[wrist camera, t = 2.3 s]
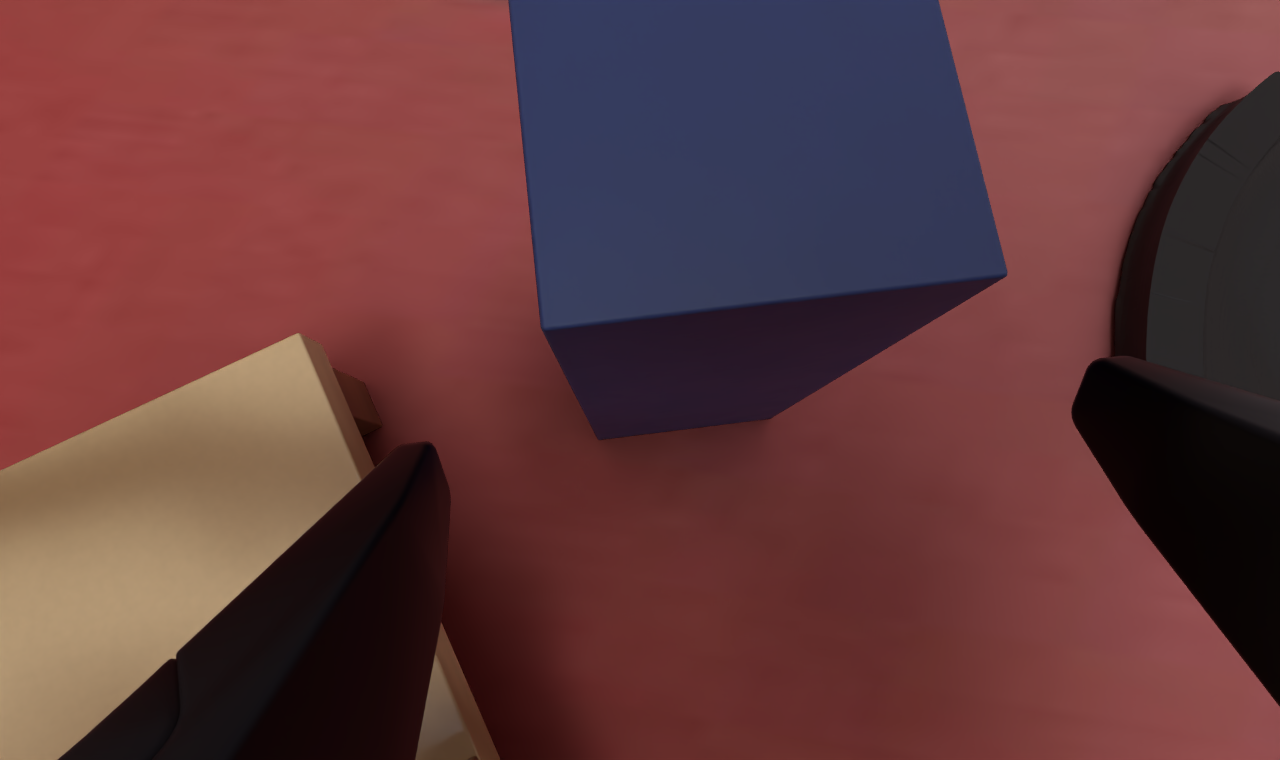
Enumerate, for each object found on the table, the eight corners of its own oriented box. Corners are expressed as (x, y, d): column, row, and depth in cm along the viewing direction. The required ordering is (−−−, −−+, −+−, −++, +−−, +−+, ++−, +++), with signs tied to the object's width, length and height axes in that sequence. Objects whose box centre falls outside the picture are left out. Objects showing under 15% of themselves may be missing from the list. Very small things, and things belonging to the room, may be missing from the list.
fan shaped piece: (1001, 367, 20) (1033, 355, 18) (1223, 93, 22) (1269, 61, 20) (1223, 548, 19) (1277, 551, 17) (1433, 242, 21) (1499, 220, 19)
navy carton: (771, 418, 19) (1010, 275, 7) (597, 440, 19) (541, 331, 7) (746, 269, 20) (919, -80, 8) (580, 288, 20) (504, -42, 8)
